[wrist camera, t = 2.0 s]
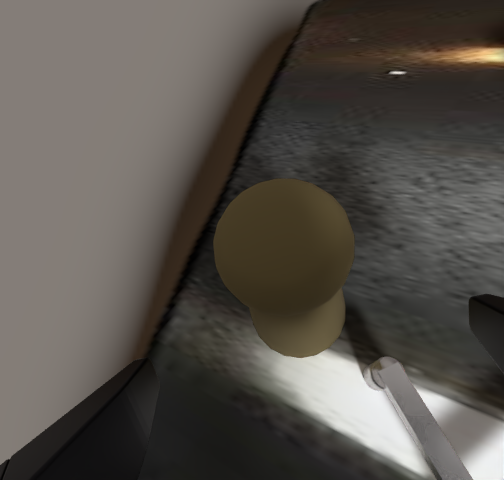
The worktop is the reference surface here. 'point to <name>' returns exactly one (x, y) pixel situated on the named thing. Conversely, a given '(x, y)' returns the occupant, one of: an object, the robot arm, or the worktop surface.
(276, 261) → the cork
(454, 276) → the worktop surface
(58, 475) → the robot arm
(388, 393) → the angled metal bracket
